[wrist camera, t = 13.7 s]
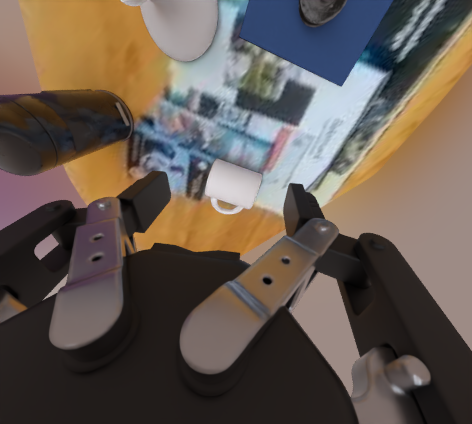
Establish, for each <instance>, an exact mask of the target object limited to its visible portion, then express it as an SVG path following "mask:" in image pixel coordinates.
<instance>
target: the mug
mask: <svg viewBox="0 0 472 424" xmlns="http://www.w3.org/2000/svg"><path fill="white" fill-rule="evenodd" d="M261 180H262V175H261V174H260V173H257V172H254V171H251V170H248V169H246V168H243V167H240V166H237V165H234V164H231V163H228V162H226V161H223V160H220V159H216V160H215V161H214V163H213V165H212V168H211V171H210V173H209V177H208V180H207V184H206V189H205V195H207V196H210V197H211V203H212V206H213V207H214V208H215V209H216V210H217V211H218V212H220V213H223V214H235V213H238V212H240V211H241V210H242V209H243V208H246V209H250V208H251V207H252V205H253V203H254V201H255V199H256V196H257V194H258V191H259V188H260V184H261ZM217 199H219V200H222V201H225V202H228V203H231V204H234V205H237V207H236V208H234V209H232V210H229V209H224V208H221V207H220V206H218V203H217Z"/></svg>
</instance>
